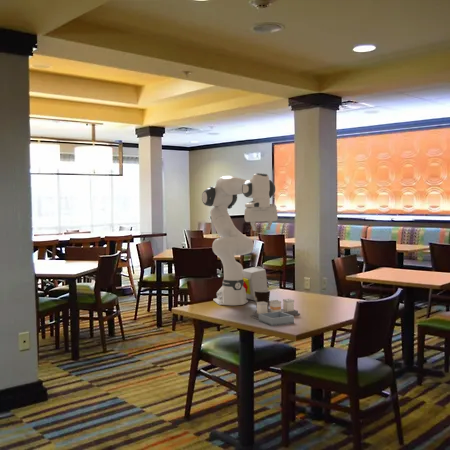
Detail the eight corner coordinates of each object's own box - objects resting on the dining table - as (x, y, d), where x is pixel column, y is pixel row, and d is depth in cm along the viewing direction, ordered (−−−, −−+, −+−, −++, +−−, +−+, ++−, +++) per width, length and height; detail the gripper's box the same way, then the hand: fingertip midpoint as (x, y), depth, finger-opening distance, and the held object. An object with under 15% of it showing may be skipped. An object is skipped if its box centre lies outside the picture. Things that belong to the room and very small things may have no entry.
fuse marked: (269, 314, 276) (269, 300, 276) (276, 313, 278) (276, 299, 278) (274, 315, 273) (274, 302, 272) (281, 314, 275) (281, 301, 274)
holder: (250, 316, 274) (250, 312, 273) (291, 312, 285) (291, 307, 285) (258, 319, 266) (258, 315, 266) (300, 314, 277) (300, 310, 277)
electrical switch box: (236, 301, 326) (232, 269, 324) (257, 296, 332) (253, 265, 330) (247, 305, 313) (243, 272, 310) (269, 300, 319) (265, 267, 317)
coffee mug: (269, 310, 289) (269, 292, 288) (253, 310, 290) (253, 291, 290) (271, 306, 300) (271, 288, 300) (256, 306, 302) (256, 288, 301)
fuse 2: (282, 312, 280) (282, 299, 280) (289, 311, 282) (289, 298, 282) (287, 314, 276) (287, 300, 276) (294, 313, 278) (294, 299, 278)
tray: (258, 320, 265) (258, 313, 264) (280, 318, 270) (280, 311, 270) (271, 326, 253) (271, 318, 253) (294, 323, 259) (294, 316, 259)
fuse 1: (256, 315, 273) (256, 302, 273) (263, 314, 275) (263, 301, 274) (260, 317, 269) (260, 303, 269) (267, 316, 271) (267, 302, 271)
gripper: (272, 203, 287) (272, 229, 288) (242, 204, 275) (242, 230, 276) (280, 203, 282) (280, 229, 283) (250, 204, 270) (250, 231, 271)
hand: (261, 230), depth 279 cm, fingers open, 8 cm apart
